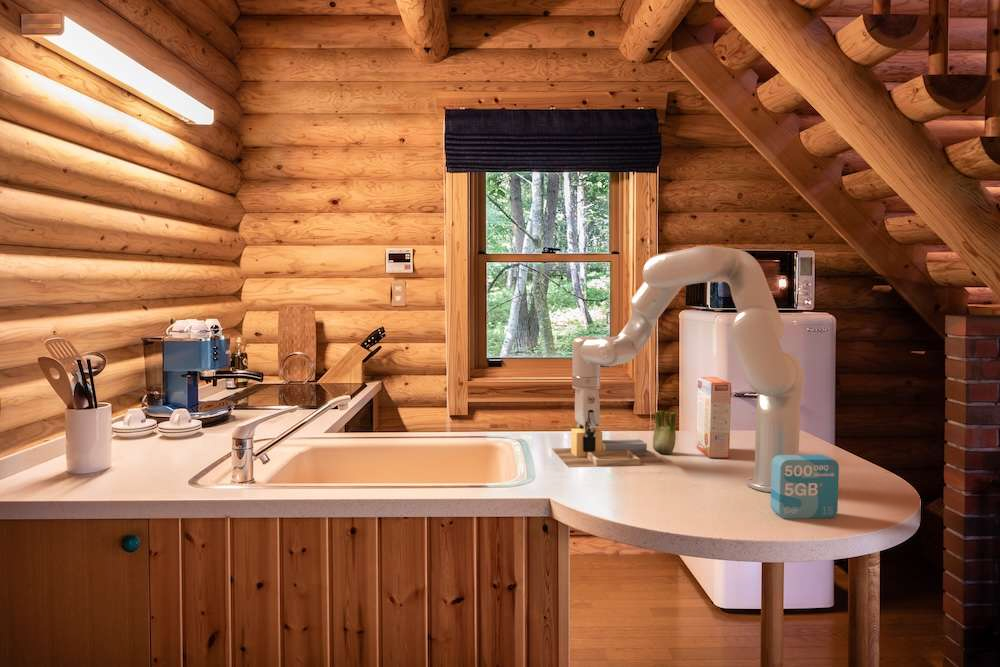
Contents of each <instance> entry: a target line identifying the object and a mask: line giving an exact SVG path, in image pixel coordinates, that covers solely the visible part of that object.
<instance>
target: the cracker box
mask: <svg viewBox="0 0 1000 667" xmlns="http://www.w3.org/2000/svg"><path fill="white" fill-rule="evenodd" d="M731 403H732V382H730V381H727V380H725V379H722V378H720V377H717V376H698V379H697V418H696V422H697V423H696V448H697V449H698V450H699V451H701V452H702V453H703V455H705V456H707V457H708V458H710V459H729V458H730V444H731V443H730V442H731V440H730V439H731V437H730V436H731V412H732V411H731V409H732V408H731Z"/></svg>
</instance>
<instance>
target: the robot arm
mask: <svg viewBox="0 0 1000 667" xmlns="http://www.w3.org/2000/svg"><path fill="white" fill-rule="evenodd" d="M643 265H644V266H643V269H642V279H643V280H644V281H643V282H642V284H641V285H640V286H639V288H638V289H637V290H636V291H635V293H634V294H633V295H632V296H631V298H630V299H629V305H630V308H631V314H630V317H629V320H628V321H627V323H626V324H625V326H624V327H623V328H622V330H621V331H620V332H619V334H618V335H617V336H616V335H615V336H609V337H602V338H601V337H599V338H598V337H596V336H578V337H575V338H573V340H572V346H571V349H572V350H571V351H572V354H571V356H572V360H571V363H572V365H571V366H572V378H571V381H572V382H571V383H572V384H571V385H572V386H571V387H572V389H575V392H574V420H575V421H576V423H577V425H576V429H578V428H584V436H585V437H583V451H584V452H595V428H597V427H599V426H600V425H601V405H600V404H601V403H600V392H599V389H601V367H602V366H604V367H613V366H618V365H623V364H627V363H629V362H631V361H632V360H633V359H634V358H636V357H637V355H638V354H639V352H640V351H641V350H642V349H643V348H644V346H645V345H646V344H647V342H648V341H649V340H650V338H651V336H652V334H653V332H654V329H655V327H656V325H657V322H658V320H659V318H660V317H661V315H662V314H663V313H664V311H665V310H666V309H667V308H668V307H669V305H670V304H671V303H672V301H673V300H674V299H675V297H676V296H677V295H678V294H679V292H680V291H681V289H682V288H683V287H684V286H689V285H693V284H700V283H723V282H724V283H727V284H728V286H729V289H730V293H731V297H732V302H733V303H734V306H735V308H736V312H737V313H736V315H735V316H734V317H733V319H732V321H731V325H730V335H731V339H732V342H733V346H734V349H735V351H736V354H737V358H738V360H739V363H740V366H741V369H742V372H743V374H744V377H745V380H746V382H747V383H748V384H747V385H749V387H750V388H751V390H753V391H754V392H755V393H756V394H757V398H756V399H757V400H756V408H755V409H756V411H755V441H754V442H755V444H754V446H755V447H754V475H753V476H750V477H748V478H747V481H746V482H747V484H746V485H747V486H749V487H750V488H752V489H754V490H758V491H760V492H761V491H762V492H766V493H771V468H772V460H773V458H774V457H775V456H777V455H800V428H801V427H800V426H801V425H800V423H801V405H802V396H803V395H802V394H803V386H804V369H803V366H802V363H801V361H800V360H799V358H798V357H796V356H795V355H794V354H793V353H791V352H788V351H785V350H783V349H782V345H781V342H780V340H781V339H782V337H783V334H784V331H785V328H784V321H783V319H782V317H781V314H780V312H779V309H778V307H777V304H776V301H775V299H774V296H773V293H772V291H771V289H770V287H769V284H768V281H767V278H766V276H765V273H764V270H763V268H762V267H761V265H760V263H759V262H758V260H757V259H756V258H755V257H754V256H752V255H751V254H750V253H748V252H747V251H745V250H741V249H739V248H738V249H737V248H732V247H724V246H715V245H707V244H705V245H698V246H694V247H693V246H692V247H689V248H684V249H679V250H674V251H673V250H672V251H669V252H662V253H658V254H655V255H653V256H651V257H650V258H649V259H648V260H647V261H645V264H643ZM587 428H588V429H587Z"/></svg>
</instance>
